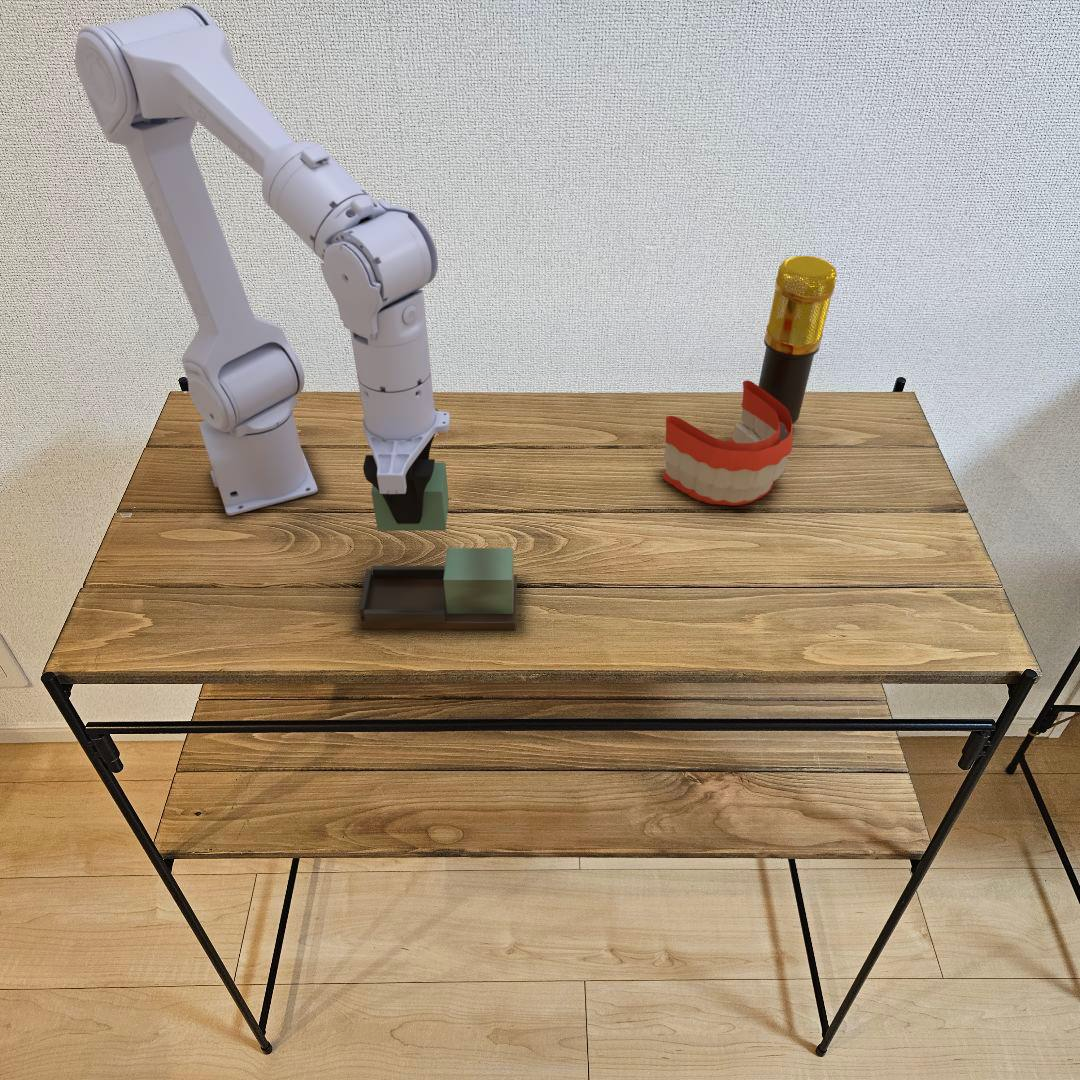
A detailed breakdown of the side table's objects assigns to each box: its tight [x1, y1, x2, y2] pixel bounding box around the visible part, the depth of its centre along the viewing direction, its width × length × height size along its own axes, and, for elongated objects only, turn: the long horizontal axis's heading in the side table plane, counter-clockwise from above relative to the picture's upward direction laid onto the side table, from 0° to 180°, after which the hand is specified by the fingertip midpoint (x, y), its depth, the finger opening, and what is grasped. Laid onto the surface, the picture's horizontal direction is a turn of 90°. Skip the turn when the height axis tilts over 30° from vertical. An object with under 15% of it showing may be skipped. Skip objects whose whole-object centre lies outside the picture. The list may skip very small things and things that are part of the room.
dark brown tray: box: [358, 547, 518, 631], centre depth 81 cm, size 14×6×6 cm, turn 90°
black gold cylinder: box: [757, 255, 838, 426], centre depth 96 cm, size 6×13×20 cm, turn 94°
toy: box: [662, 379, 794, 506], centre depth 93 cm, size 12×10×8 cm
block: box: [370, 461, 450, 532], centre depth 78 cm, size 6×4×4 cm, turn 90°
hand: (411, 504), depth 78 cm, fingers closed on block, 4 cm apart
